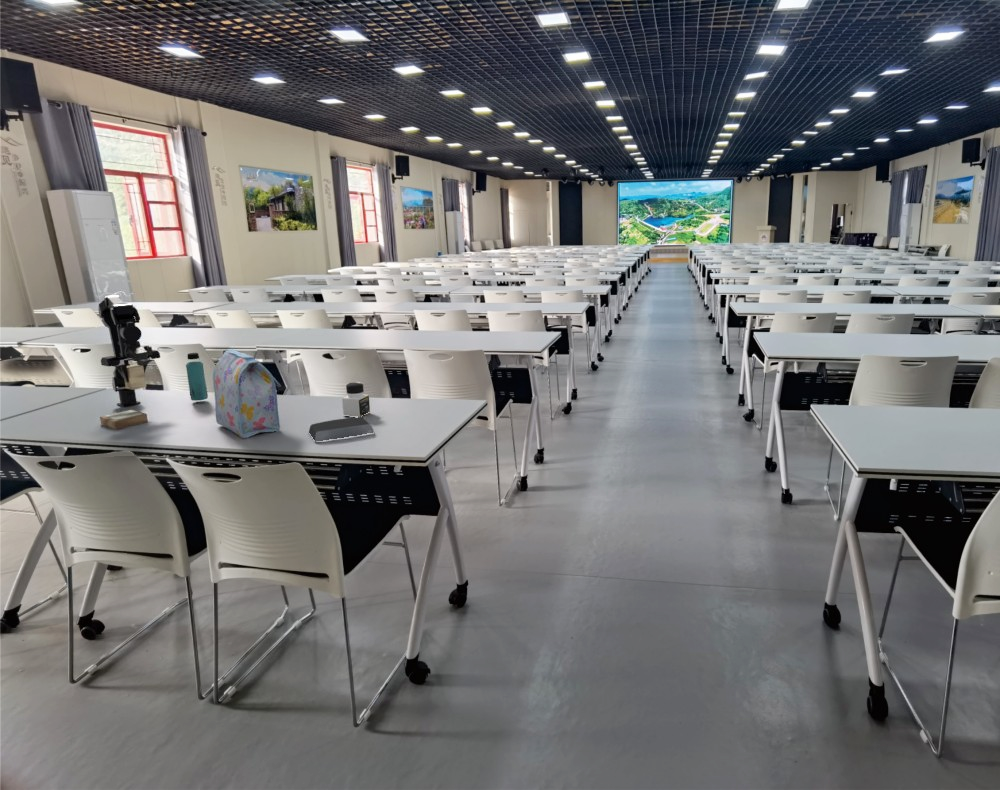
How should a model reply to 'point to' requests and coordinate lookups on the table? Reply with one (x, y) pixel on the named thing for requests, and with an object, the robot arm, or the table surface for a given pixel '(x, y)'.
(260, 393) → the lunch bag
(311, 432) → the external hard drive
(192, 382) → the beverage bottle
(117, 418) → the picture frame
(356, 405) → the medicine bottle
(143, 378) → the oak block
